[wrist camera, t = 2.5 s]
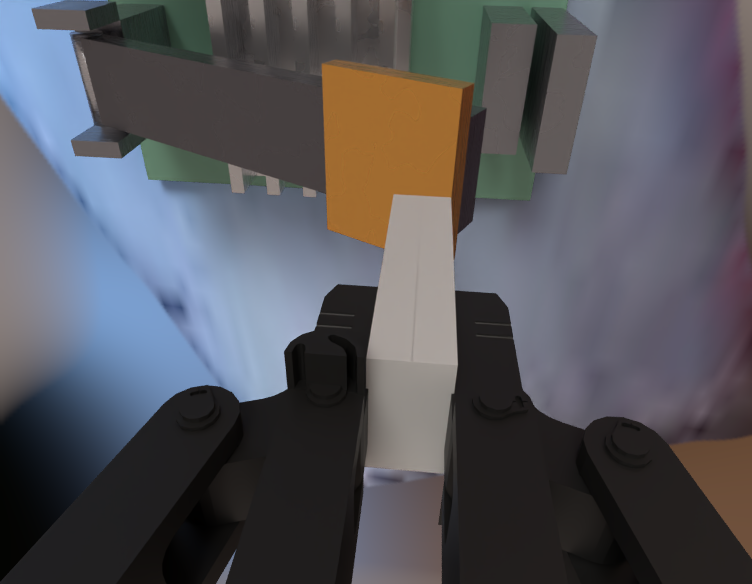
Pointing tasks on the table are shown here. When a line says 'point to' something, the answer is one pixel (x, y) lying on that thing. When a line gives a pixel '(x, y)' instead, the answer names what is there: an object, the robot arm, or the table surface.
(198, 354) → the table surface
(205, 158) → the board
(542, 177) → the table surface
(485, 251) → the table surface
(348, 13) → the heatsink
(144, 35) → the forked tab bracket
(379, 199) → the strap
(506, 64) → the lug
